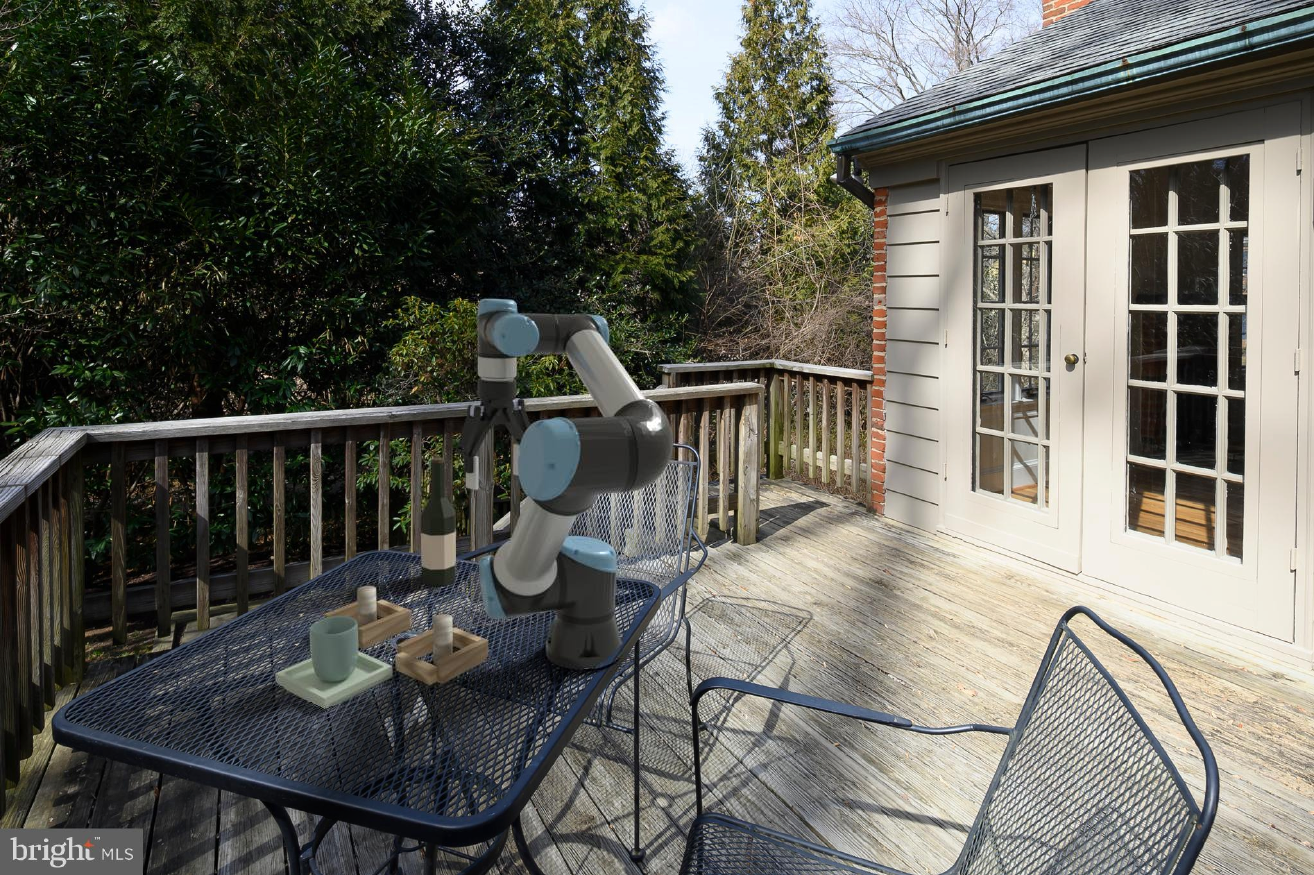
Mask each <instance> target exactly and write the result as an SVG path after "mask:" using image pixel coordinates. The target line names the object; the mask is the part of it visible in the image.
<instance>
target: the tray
mask: <svg viewBox="0 0 1314 875" xmlns="http://www.w3.org/2000/svg"><path fill="white" fill-rule="evenodd" d="M274 674H275V677H274V678H275V683H276V682H277V683H278V684H280V685H281V686H283V687H284V688H285V689H286V691H288V692H289V693H291V694H293V695H295V696H296V697H299V698H301V699H303V700H304V701H306V700H307V701H306V702H308V703H310V702H312V703H313V704H312V703H311V704H312V705H314V704H316V705H318V706H321V707H322V708H324V709H325V708H328V707H329V706H333V707H334V706H337V705H339V704H341V703H344V701H347V700H350V699H351V698H353V697H355V696H358V695H360V694H361V693H363V692H365V691H367V690H369V689H371V688H373V687H375V686H377V685H379V684H381V683H384V682H385V681H387V680H389V679H392V678H393V665H390V664H389V663H387V662H384V661H382V660H379V659H377V658H375V657H372V656H371V655H368V654H366V653H364V652H361V651H359V650H358V660H357V665H356V668H355V670H354V672H353V673H352V674H351V675H350V676H349V677H347V678H346V679H344V680H341V681H337V682H327V681H324V680H322V679H320V678H319V677H318V676H317V675H316V674H315V672H314V669H313V665H312V660H311V657H310V658H308V659H306V660H303V661H301V662H298V663H297V664H294V665H291V666H289V667H287V668H285V669H283V670H279V671H278V672H275V673H274ZM285 689H284V690H285ZM316 705H315V706H316ZM318 706H317V707H318ZM322 708H321V709H322ZM324 709H323V710H324Z"/></svg>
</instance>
